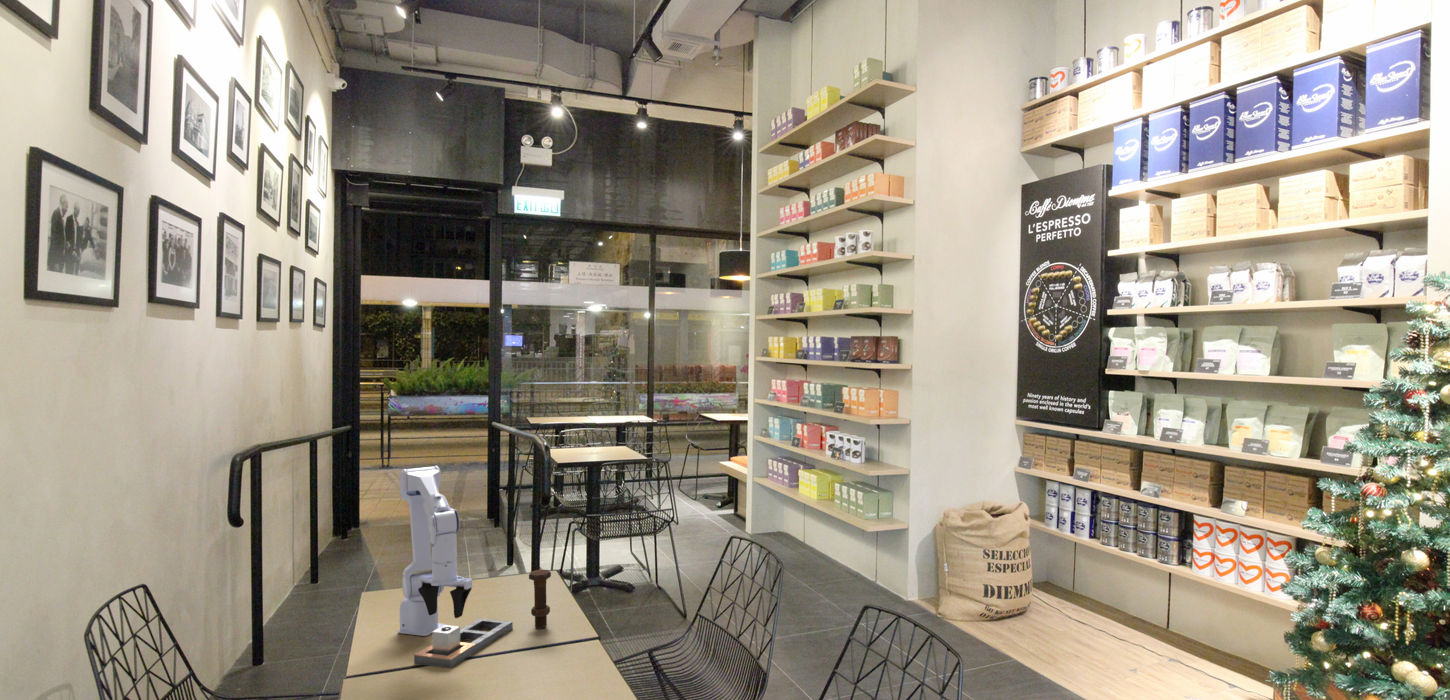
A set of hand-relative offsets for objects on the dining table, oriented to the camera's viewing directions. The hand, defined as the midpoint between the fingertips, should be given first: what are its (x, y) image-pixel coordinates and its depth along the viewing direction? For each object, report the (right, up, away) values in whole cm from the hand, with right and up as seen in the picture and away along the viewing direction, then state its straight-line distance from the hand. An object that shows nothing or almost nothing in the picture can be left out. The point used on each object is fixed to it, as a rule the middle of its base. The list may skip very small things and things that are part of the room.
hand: (445, 615), depth 180 cm
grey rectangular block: (0, -10, 0) cm, 10 cm away
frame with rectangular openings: (+3, -10, +7) cm, 13 cm away
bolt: (+19, -10, +19) cm, 29 cm away
